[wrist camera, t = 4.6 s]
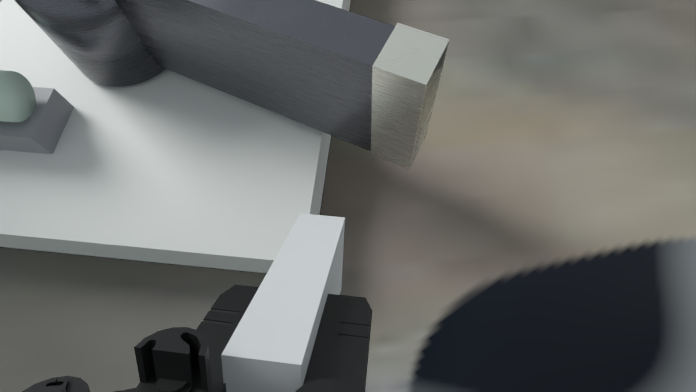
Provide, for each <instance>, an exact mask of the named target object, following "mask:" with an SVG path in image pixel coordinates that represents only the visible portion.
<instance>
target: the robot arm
mask: <svg viewBox="0 0 696 392" xmlns="http://www.w3.org/2000/svg"><path fill="white" fill-rule="evenodd" d="M344 229H345V217H335V216H324V215H313V214H302V213H300V215H299V217H298V218H297V220H296V222H295V224H294V226H293V227H292V229H291V231H290V233H289V235H288V236H287V238H286V240H285V242H284V243H283V245H282V247H281V249H280V251H279V252H278V254H277V256H276V258H275V260H274V261H273V263H272V265H271V267H270V269H269V270H268V272H267V274H266V276H265V277H264V279H263V281H262V283H261V285H260V286H259V287H251V286H242V285H234V286H233V287H231V288H230V289H229V290H227V291H226V292H224V293H223V294H221V295H220V296H219V298H218V299H217V301H216V302H215V303H214V305H213V306H212V308H211V311H209V312H208V314H207V315H206V316H205V318H204V321H203V322H201V324H200V325H199V327H198V328H197V329H196V330H194V329H191V328H187V327H180V328H169V329H165V330H161V331H158V332H156V333H154V334H152V335H150V336H148V337H146V338H144V339H143V340H142V341H141V342H140V343H139V344H137V345H136V346H135V347H134V348H135V354H136V360H137V366H138V371H139V377H140V383H139V385H138V386H137V387H136V388H133V389H128V390H123V391H116V392H365V385H366V374H367V364H368V353H369V341H370V329H371V318H372V310H371V308H370V306H369V304H368V302H367V300H366V298H363V297H354V296H345V295H340V292H341V287H342V267H343V248H344ZM22 392H90V391H89V387H88V384H87V383H86V382H84V381H83V380H82V379H81V378H77V377H71V376H64V377H56V378H51V379H48V380H45V381H42V382H39V383H37V384H34V385H33V386H31V387H29V388H28V389H26V390H24V391H22Z"/></svg>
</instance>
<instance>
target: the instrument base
mask: <svg viewBox="0 0 696 392" xmlns="http://www.w3.org/2000/svg"><path fill="white" fill-rule="evenodd" d="M316 1H319V2H322V3H325V4H328V5H332V6H335V7H338V8H341V9H344V10H347V11H349V9H350V2H351V0H316ZM330 139H331V135H329V134H327V133H324V132H322V131H319V130H317V129H314V128H312V127H310V126H307V125H305V124H302V123H300V122H297V121H295V120H292V119H290V118H287V117H285V116H282V115H280V114H277V113H275V112H272V111H270V110H267V109H265V108H262V107H260V106H257V105H255V104H252V103H250V102H247V101H245V100H242V99H240V98H237V97H235V96H232V95H230V94H228V93H225V92H223V91H220V90H218V89H215V88H213V87H210V86H208V85H205V84H203V83H200V82H198V81H195V80H193V79H190V78H188V77H185V76H183V75H180V74H178V73H175V72H173V71H170V70H168V69H166V70H164V71H163V72H161V73H160V74H159V75H157V76H155V77H153V78H151V79H149V80H147V81H144V82H142V83H139V84H135V85H130V86H123V87H112V86H105V85H101V84H98V83H95V82H93V81H91V80H90V79H88V78H87V77H86V76H85V75H84V74H83V73H82V72H81V71H80V70H79V69H78V68H77V67H76V66H75V64H74V63H73V62H72V61H71V60H70V59H69V58H68V57H67V56H66V55H65V54H64V53H63V52H62V51H61V50H60V49H59V47H58V46H57V45H56V44H55V43H54V42H53V41H52V40H51V39H50V38H49V37H48V36H47V35H46V34H45V33H44V31H43V30H42V29H41V28H40V27H39V26H38V25H37V24H36V23H35V22H34V21H33V20H32V19H31V18H30V17H29V15H28V14H27V13H26V12H25V11H24V10H23V9H22V8H21V7H20V6H19V5H18V4H17V3H16V2H15V1H14V0H2V1H1V3H0V247H8V248H18V249H28V250H38V251H48V252H58V253H68V254H78V255H88V256H98V257H108V258H118V259H128V260H138V261H148V262H158V263H168V264H178V265H188V266H198V267H208V268H219V269H229V270H239V271H249V272H259V273H267V272H268V270H269V269H270V267H271V265H272V263H273V261H274V260H275V258H276V256H277V254H278V252H279V251H280V249H281V247H282V245H283V243H284V242H285V240H286V238H287V236H288V235H289V233H290V231H291V229H292V227H293V226H294V224H295V222H296V220H297V218H298V217H299V215H300V213H302V214H313V215H320V208H321V201H322V194H323V187H324V180H325V174H326V167H327V160H328V153H329V146H330Z"/></svg>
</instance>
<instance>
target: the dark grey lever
mask: <svg viewBox="0 0 696 392" xmlns="http://www.w3.org/2000/svg"><path fill="white" fill-rule="evenodd" d="M14 1H15V2H16V3H17V4H18V5H19V6H20V7H21V8H22V9H23V10H24V11H25V12H26V13H27V14H28V15H29V17H30V18H31V19H32V20H33V21H34V22H35V23H36V24H37V25H38V26H39V27H40V28H41V29H42V30H43V31H44V33H45V34H46V35H47V36H48V37H49V38H50V39H51V40H52V41H53V42H54V43H55V44H56V45H57V46H58V47H59V49H60V50H61V51H62V52H63V53H64V54H65V55H66V56H67V57H68V58H69V59H70V60H71V61H72V62H73V63H74V64H75V66H76V67H77V68H78V69H79V70H80V71H81V72H82V73H83V74H84V75H85V76H86V77H87V78H88V79H90V80H91V81H93V82H95V83H98V84H101V85H105V86H112V87H123V86H130V85H135V84H139V83H142V82H144V81H147V80H149V79H151V78H153V77H155V76H157V75H159V74H160V73H161V72H163V71H164V70H166V69H168V70H170V71H173V72H175V73H178V74H180V75H183V76H185V77H188V78H190V79H193V80H195V81H198V82H200V83H203V84H205V85H208V86H210V87H213V88H215V89H218V90H220V91H223V92H225V93H228V94H230V95H232V96H235V97H237V98H240V99H242V100H245V101H247V102H250V103H252V104H255V105H257V106H260V107H262V108H265V109H267V110H270V111H272V112H275V113H277V114H280V115H282V116H285V117H287V118H290V119H292V120H295V121H297V122H300V123H302V124H305V125H307V126H310V127H312V128H314V129H317V130H319V131H322V132H324V133H327V134H329V135H332V136H334V137H337V138H339V139H342V140H344V141H347V142H349V143H352V144H354V145H357V146H359V147H362V148H364V149H367V150H369V151H371V154H372V155H374V156H377V157H379V158H381V159H384V160H386V161H389V162H391V163H394V164H396V165H399V166H401V167H404V168H406V169H410V167H411V165H412V163H413V161H414V159H415V157H416V154H417V152H418V150H419V148H420V146H421V144H422V142H423V140H424V138H425V136H426V134H427V130H428V126H429V121H430V117H431V113H432V109H433V105H434V101H435V97H436V93H437V89H438V85H439V80H440V76H441V72H442V68H443V64H444V60H445V56H446V52H447V48H448V44H449V39H447V38H443V37H440V36H437V35H434V34H431V33H428V32H425V31H422V30H419V29H416V28H413V27H410V26H406V25H403V24H400V23H397V25H396V26H393V25H390V24H387V23H384V22H381V21H378V20H374V19H371V18H368V17H365V16H362V15H359V14H356V13H353V12H350V11H347V10H344V9H341V8H338V7H335V6H332V5H328V4H325V3H322V2H319V1H316V0H14Z"/></svg>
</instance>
